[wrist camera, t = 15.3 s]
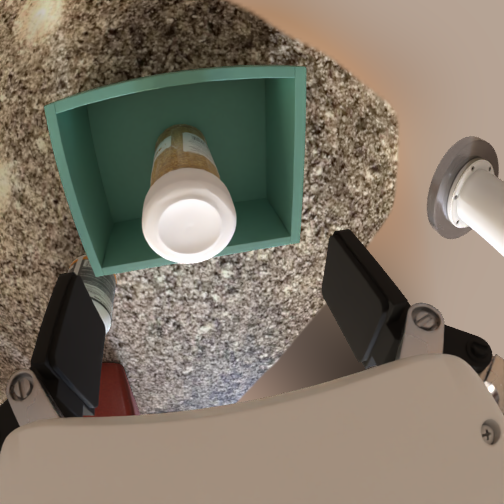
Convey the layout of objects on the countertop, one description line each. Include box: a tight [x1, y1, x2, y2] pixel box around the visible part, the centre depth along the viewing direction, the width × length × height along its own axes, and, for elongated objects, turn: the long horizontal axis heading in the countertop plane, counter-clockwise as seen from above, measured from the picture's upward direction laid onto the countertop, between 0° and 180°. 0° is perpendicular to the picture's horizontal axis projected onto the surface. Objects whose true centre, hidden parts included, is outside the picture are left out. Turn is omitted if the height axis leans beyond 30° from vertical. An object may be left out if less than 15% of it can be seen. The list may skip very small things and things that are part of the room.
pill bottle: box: [68, 255, 116, 333], centre depth 26 cm, size 6×6×10 cm
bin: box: [44, 65, 306, 277], centre depth 22 cm, size 17×14×8 cm
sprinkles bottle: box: [142, 124, 237, 263], centre depth 19 cm, size 5×5×14 cm
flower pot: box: [83, 363, 140, 417], centre depth 35 cm, size 19×19×17 cm
